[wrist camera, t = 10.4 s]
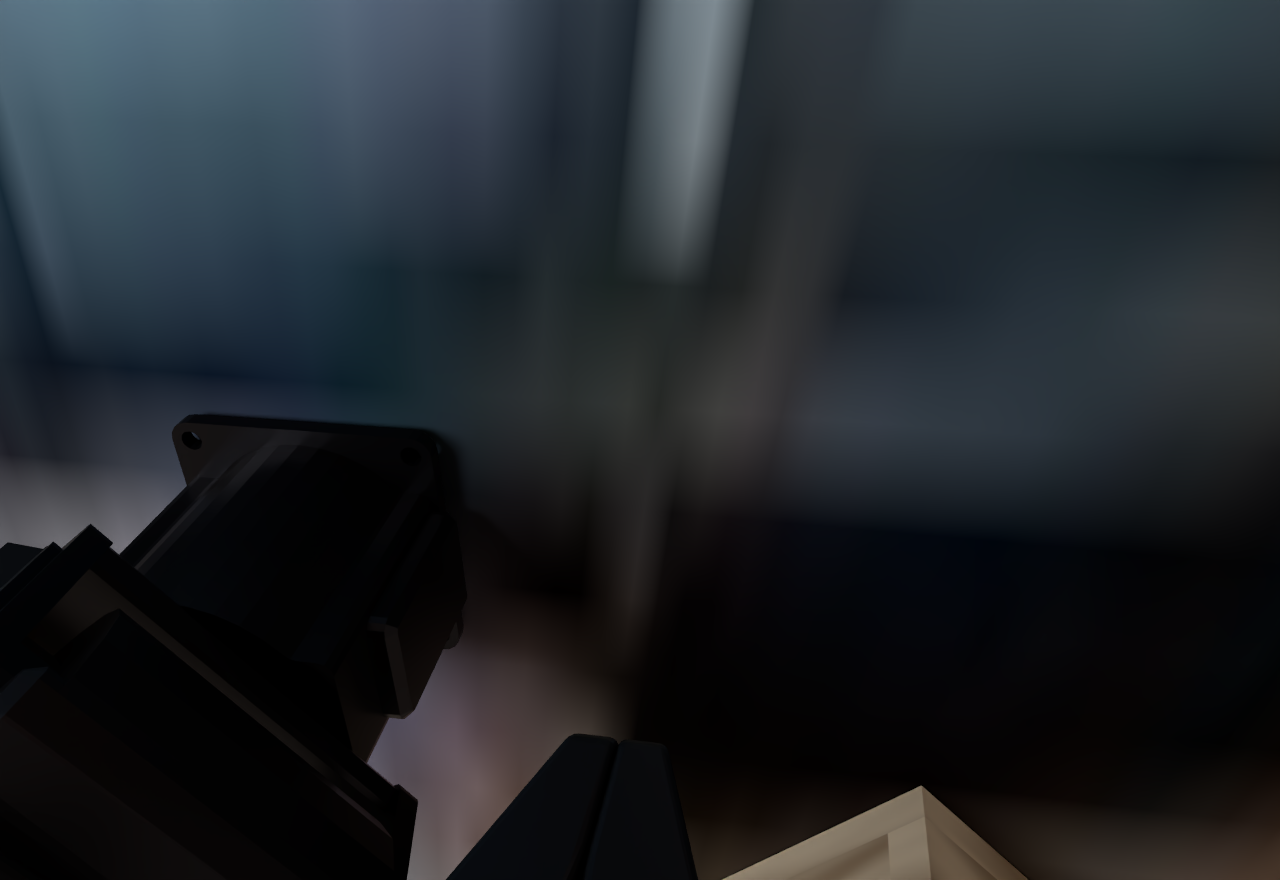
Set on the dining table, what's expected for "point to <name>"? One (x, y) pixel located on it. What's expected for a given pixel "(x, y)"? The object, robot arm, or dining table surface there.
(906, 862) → the beige tray
